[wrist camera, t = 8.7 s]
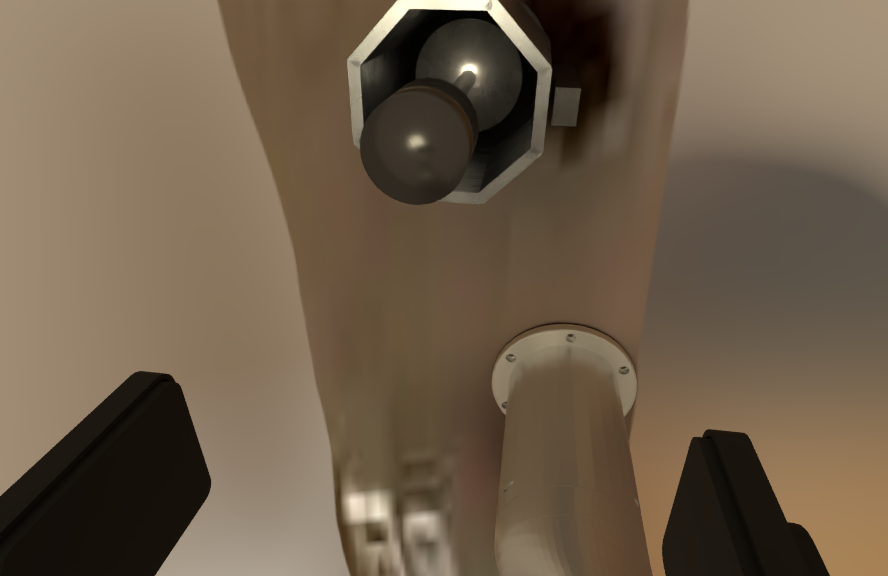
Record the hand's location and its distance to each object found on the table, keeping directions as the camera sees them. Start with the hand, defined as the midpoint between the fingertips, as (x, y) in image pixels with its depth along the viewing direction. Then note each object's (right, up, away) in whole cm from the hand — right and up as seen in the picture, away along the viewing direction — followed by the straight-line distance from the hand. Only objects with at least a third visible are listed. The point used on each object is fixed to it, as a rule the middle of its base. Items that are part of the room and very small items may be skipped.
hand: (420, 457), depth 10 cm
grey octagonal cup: (+3, +18, +26) cm, 32 cm away
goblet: (+2, +16, +24) cm, 29 cm away
